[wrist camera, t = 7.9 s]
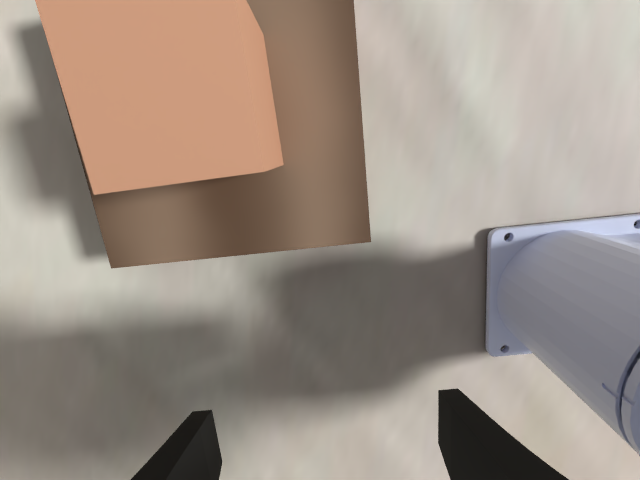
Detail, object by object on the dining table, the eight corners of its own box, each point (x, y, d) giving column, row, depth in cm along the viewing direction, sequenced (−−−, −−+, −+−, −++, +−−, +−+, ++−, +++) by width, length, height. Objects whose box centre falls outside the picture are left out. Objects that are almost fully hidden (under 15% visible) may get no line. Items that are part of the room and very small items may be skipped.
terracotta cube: (263, 34, 13) (229, -34, 8) (283, 165, 14) (264, 171, 10) (138, 53, 13) (34, -3, 8) (169, 180, 15) (94, 194, 10)
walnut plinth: (341, -23, 16) (347, -77, 12) (360, 223, 19) (371, 241, 15) (96, 8, 16) (27, -35, 13) (153, 245, 19) (111, 268, 16)
